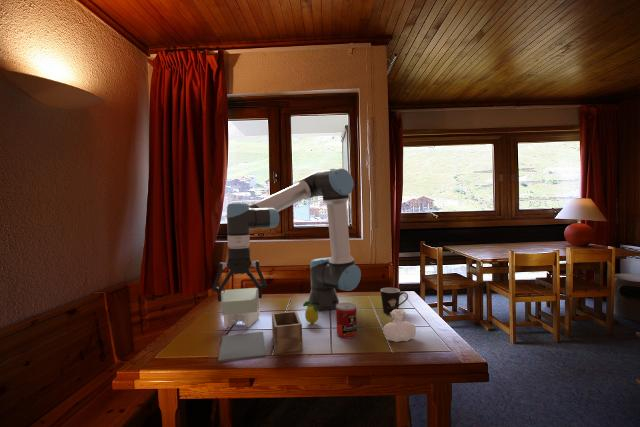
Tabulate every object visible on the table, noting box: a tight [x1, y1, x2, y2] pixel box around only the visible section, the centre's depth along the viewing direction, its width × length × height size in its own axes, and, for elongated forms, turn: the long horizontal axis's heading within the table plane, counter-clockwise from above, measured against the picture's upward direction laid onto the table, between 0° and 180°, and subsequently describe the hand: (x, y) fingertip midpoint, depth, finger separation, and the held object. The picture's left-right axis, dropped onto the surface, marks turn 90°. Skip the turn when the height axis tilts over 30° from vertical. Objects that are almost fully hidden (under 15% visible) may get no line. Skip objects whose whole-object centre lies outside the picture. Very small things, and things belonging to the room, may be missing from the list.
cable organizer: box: [223, 302, 261, 328], centre depth 140 cm, size 15×11×12 cm
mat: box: [217, 331, 266, 363], centre depth 118 cm, size 15×20×1 cm
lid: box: [221, 287, 257, 316], centre depth 117 cm, size 11×16×4 cm
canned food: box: [335, 302, 358, 339], centre depth 125 cm, size 8×8×11 cm
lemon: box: [302, 300, 319, 325], centre depth 137 cm, size 7×6×10 cm
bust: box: [382, 308, 417, 343], centre depth 121 cm, size 12×8×11 cm
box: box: [271, 310, 304, 354], centre depth 119 cm, size 9×14×9 cm, turn 12°
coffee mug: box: [380, 287, 409, 316], centre depth 148 cm, size 12×9×10 cm
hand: (240, 308), depth 117 cm, fingers closed on lid, 11 cm apart
